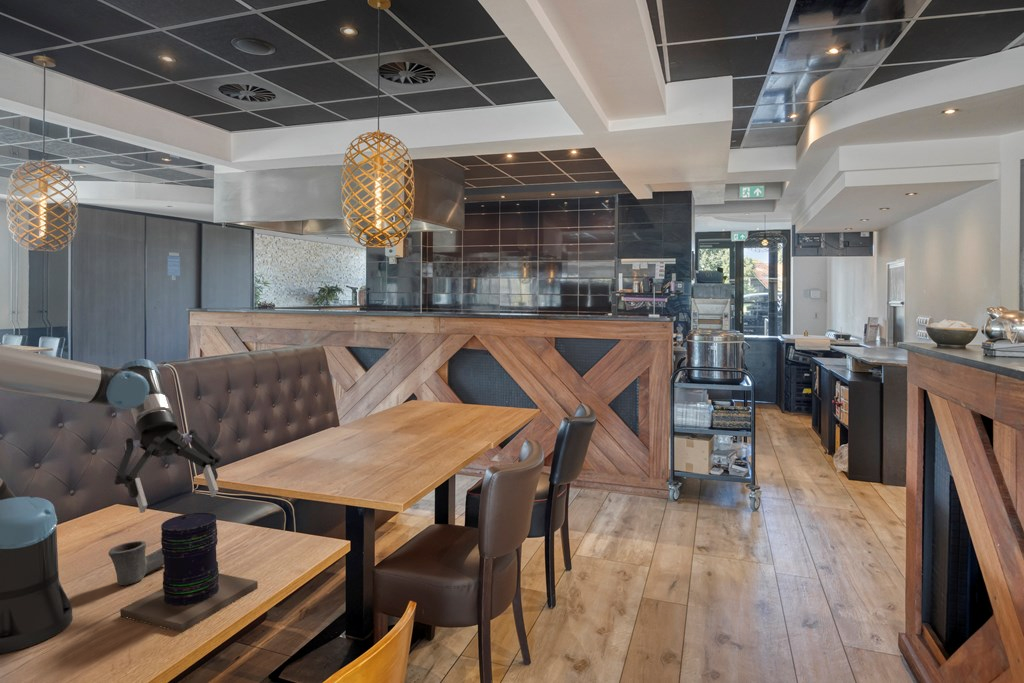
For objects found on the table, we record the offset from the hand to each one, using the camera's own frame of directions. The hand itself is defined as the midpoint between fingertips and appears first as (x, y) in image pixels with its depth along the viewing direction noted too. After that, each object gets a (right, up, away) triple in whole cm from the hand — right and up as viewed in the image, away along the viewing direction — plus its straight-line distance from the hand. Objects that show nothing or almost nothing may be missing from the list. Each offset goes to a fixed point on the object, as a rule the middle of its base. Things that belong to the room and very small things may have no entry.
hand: (181, 501), depth 122 cm
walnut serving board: (+5, -19, -5) cm, 20 cm away
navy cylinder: (+5, -18, -5) cm, 19 cm away
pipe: (-13, -19, +7) cm, 24 cm away
